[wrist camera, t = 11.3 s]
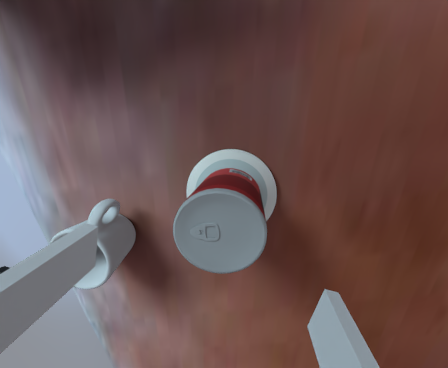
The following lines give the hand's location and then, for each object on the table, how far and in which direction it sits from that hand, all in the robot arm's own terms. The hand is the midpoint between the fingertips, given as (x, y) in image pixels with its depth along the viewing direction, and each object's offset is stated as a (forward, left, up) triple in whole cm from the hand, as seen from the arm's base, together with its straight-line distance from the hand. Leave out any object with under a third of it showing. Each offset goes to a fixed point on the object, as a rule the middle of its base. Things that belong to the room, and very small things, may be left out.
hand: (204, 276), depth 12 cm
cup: (-15, -9, -18) cm, 25 cm away
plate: (0, 0, -18) cm, 18 cm away
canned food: (0, 0, -17) cm, 17 cm away
